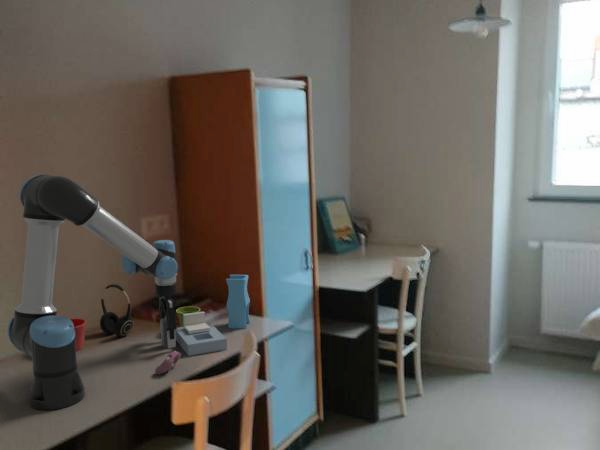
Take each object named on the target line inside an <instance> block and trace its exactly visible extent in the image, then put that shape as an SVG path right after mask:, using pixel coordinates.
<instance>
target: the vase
mask: <svg viewBox="0 0 600 450" xmlns="http://www.w3.org/2000/svg"><path fill="white" fill-rule="evenodd" d="M225 281H226V284H227V286H228V296H227V301H226V309H227V313H228V323H227V324H228V325H227V328H228V329H243V330H244V329H245V330H246V329H248V326H247V324H250V323H251V320H250V315H249V310H250V309H249V307H250V303H251V299H250V297H249V293H248V281H249V275H248V274H230V275H229V278H226V279H225Z"/></svg>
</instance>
